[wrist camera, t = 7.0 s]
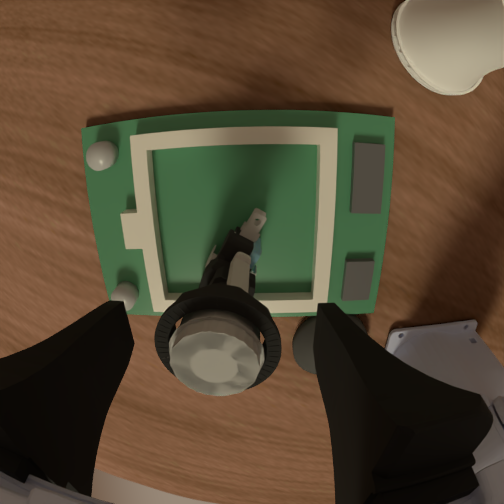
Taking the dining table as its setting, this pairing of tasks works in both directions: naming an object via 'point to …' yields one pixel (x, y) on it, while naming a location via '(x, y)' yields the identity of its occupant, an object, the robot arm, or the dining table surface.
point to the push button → (222, 322)
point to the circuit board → (242, 204)
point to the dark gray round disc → (311, 342)
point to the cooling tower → (449, 42)
